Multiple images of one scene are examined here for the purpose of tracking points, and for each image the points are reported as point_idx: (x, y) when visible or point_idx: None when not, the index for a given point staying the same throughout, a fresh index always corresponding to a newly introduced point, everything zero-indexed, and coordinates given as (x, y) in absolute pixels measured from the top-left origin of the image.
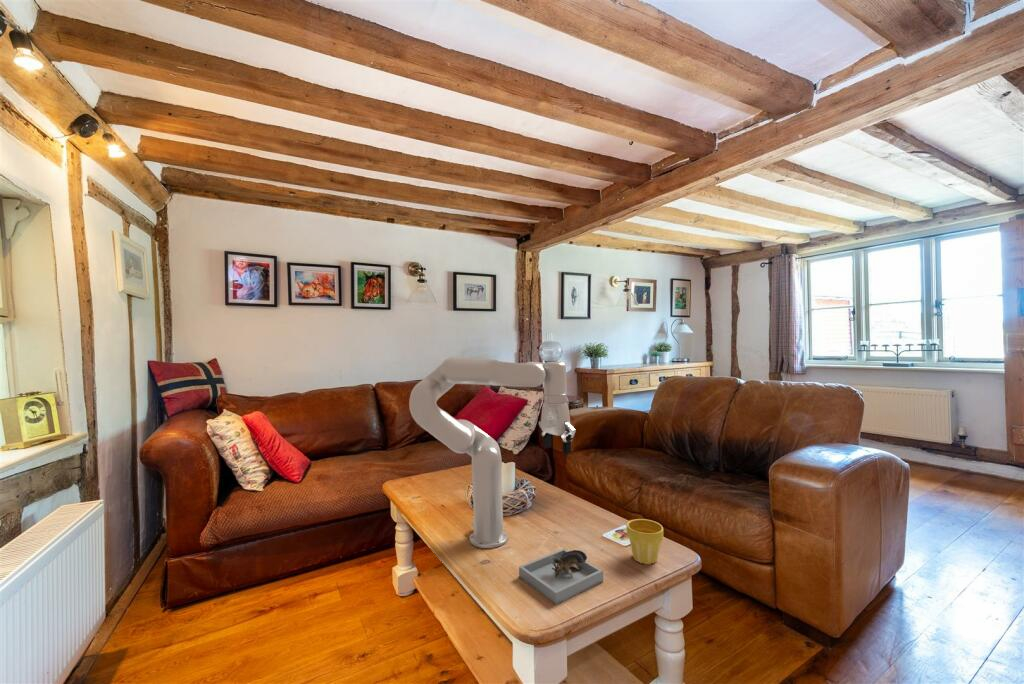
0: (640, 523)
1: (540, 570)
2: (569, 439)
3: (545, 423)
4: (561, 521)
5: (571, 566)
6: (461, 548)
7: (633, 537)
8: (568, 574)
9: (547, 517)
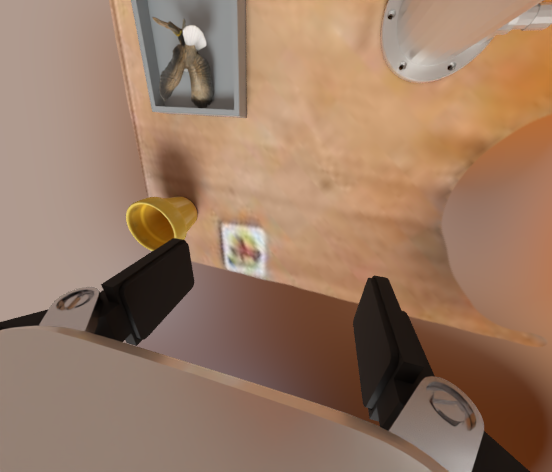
0: None
1: (230, 28)
2: (41, 318)
3: None
4: (347, 226)
5: (190, 79)
6: None
7: (152, 198)
8: None
9: (383, 222)
